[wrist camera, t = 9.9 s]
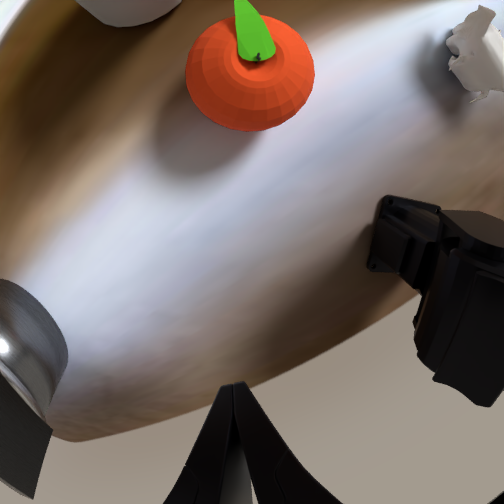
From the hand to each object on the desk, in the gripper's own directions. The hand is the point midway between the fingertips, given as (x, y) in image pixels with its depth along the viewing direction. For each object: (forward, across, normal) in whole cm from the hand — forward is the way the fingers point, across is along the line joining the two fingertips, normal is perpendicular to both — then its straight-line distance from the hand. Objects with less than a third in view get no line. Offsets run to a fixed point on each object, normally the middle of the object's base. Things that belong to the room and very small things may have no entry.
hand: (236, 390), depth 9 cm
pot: (+13, +24, 0) cm, 27 cm away
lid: (+5, +24, +3) cm, 25 cm away
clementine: (+13, -4, -11) cm, 18 cm away
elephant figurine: (+13, -25, -12) cm, 31 cm away
